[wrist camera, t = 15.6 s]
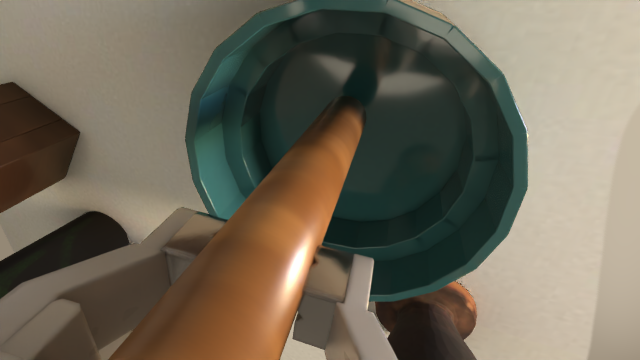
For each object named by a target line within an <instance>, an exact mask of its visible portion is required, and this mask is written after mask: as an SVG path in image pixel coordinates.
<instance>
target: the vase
mask: <svg viewBox="0 0 640 360" xmlns="http://www.w3.org/2000/svg"><path fill="white" fill-rule="evenodd" d="M375 307H376V314H377V317H378V319H379V321H380V322H381V324H382V325H383V326H384V327H385V328H386V329H387V330H388V331H389V332H390V335H389V336H388V338H387V340H388V342H389V344H390V346H391V347H392V349H393V351H394V353H395V355H396V357H397V359H398V360H476V358H475V356H474V355H473V353H472V352H471V350H470V349H469V348H468V346H467V345H466V343H465V342H464V339H465V338H466V337H468V336H469V335H470V334H471V333H472V331H473V329H474V327H475V325H476V318H477V313H476V304H475V302H474V300H473V298H472V296H471V295H470V294H469V292H468V291H467V290H466V289H465V288H464V287H462V286H461V285H460V284H458V283H457V282H455V281H454V282H452V283H450V284H448V285H446V286H444V287H443V288H441V289H439V290H437V291H435V292H431V293H427V294H423V295H419V296H414V297H410V298H406V299H402V300H398V301H392V302H375Z"/></svg>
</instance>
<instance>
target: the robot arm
mask: <svg viewBox="0 0 640 360" xmlns="http://www.w3.org/2000/svg"><path fill="white" fill-rule="evenodd" d="M227 221H228V220H226V219H223V218H220V217H216V216H213V215H210V214H206V213H203V212H198V211H194V210H191V209H188V208H185V207H181V208H178V209H177V210H176V211H174V212H173V213H172V214H171V215H170V216H169V217H168V218H167V219H166V220H165V221H164V222H163V223H162V224H161V225H160V226H159V227H158V228H156V229H155V230H154V231H153V232H152V233H151V234H150V235H149V236H148V237H147V238H146V239H145V240H144V241H143V242H142V243H141V244H136V243H133V244H130V245H127V246H124V247H122V248H119V249H116V250H113V251H110V252H107V253H105V254H102V255H99V256H96V257H93V258H91V259H88V260H85V261H82V262H79V263H76V264H74V265H71V266H68V267H65V268H62V269H59V270H57V271H54V272H51V273H48V274H45V275H43V276H40V277H37V278H34V279H31V280H28V281H26V282H23V283H21V284H20V285H18V286H17V287H16V288H14V289H13V290H12V291H10V292H9V293H8V294H6V295H5V296H4V297H3V298H1V299H0V360H102V359H101V356H100V354H99V350H100V349H102V348H104V347H105V346H107V345H109V344H110V343H112V342H113V341H115V340H117V339H118V338H120V337H121V336H123V335H125V334H126V333H128V332H129V331H131V330H133V329H134V328H136V327H137V325H138V324H139V323H140V322H141V321H142V320H143V318H144V317H145V316H146V315H147V314H148V313H149V311H150V310H151V309H152V308H153V307H154V306H155V304H156V303H157V302H158V301H159V300H160V299H161V298H162V296H163V295H164V294H165V293H166V292H167V291H168V289H169V288H170V287H171V286H172V285H173V284H174V282H175V281H176V280H177V279H178V278H179V277H180V276H181V274H182V273H183V272H184V271H185V270H186V269H187V267H188V266H189V265H190V264H191V263H192V262H193V260H194V259H195V258H196V257H197V256H198V255H199V254H200V252H201V251H202V250H203V249H204V248H205V247H206V245H207V244H208V243H209V242H210V241H211V240H212V238H213V237H214V236H215V235H216V234H217V233H218V231H219V230H220V229H221V228H222V227H223V226H224V225H225V223H226V222H227ZM373 266H374V260H373V258H370V257H366V256H362V255H358V254H353V253H350V252H346V251H342V250H338V249H334V248H330V247H327V246H323V245H318V246H317V248H316V251H315V254H314V264H313V265H312V266H310V268H309V271H308V274H307V277H306V280H305V283H304V286H303V289H302V298H301V302H300V305H299V308H298V310H297V311H298V314H297V317H296V320H295V324H294V332H293V339H294V340H297V341H300V342H303V343H306V344H309V345H312V346H315V347H318V348H320V349H323V350H325V355H326V359H327V360H398V359H397V357H396V355H395V353H394V351H393V349H392V347H391V346H390V344H389V342H388V340H387V338H386V336H385V334H384V332H383V330H382V328H381V326H380V324H379V322H378V320H377V318H376V317H375V315H374V313H373V312H370V311H367V310H368V302H369V295H370V288H371V280H372V273H373Z"/></svg>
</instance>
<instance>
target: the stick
mask: <svg viewBox="0 0 640 360" xmlns="http://www.w3.org/2000/svg"><path fill="white" fill-rule="evenodd" d="M365 123H366V111H365V108H364V106H363V105H362V104H361V102H360V101H358V100H357V99H356V98H353V97H350V96H340V97H337V98H335V99H334V100H332V101H331V102H330V103H329V104H328V105H327V106H326V107H325V109H324V110H323V111H322V112H321V113H320V114H319V116H318V117H317V118H316V119H315V120H314V121H313V123H312V124H311V125H310V126H309V127H308V128H307V130H306V131H305V132H304V133H303V134H302V135H301V136H300V138H299V139H298V140H297V141H296V142H295V143H294V145H293V146H292V147H291V148H290V149H289V150H288V152H287V153H286V154H285V155H284V156H283V157H282V158H281V160H280V161H279V162H278V163H277V164H276V165H275V167H274V168H273V169H272V170H271V171H270V172H269V174H268V175H267V176H266V177H265V178H264V179H263V180H262V182H261V183H260V184H259V185H258V186H257V187H256V189H255V190H254V191H253V192H252V193H251V194H250V196H249V197H248V198H247V199H246V200H245V201H244V203H243V204H242V205H241V206H240V207H239V208H238V209H237V211H236V212H235V213H234V214H233V215H232V216H231V218H230V219H229V220H228V221H227V222H226V223H225V225H224V226H223V227H222V228H221V229H220V230H219V231H218V233H217V234H216V235H215V236H214V237H213V238H212V240H211V241H210V242H209V243H208V244H207V245H206V247H205V248H204V249H203V250H202V251H201V252H200V254H199V255H198V256H197V257H196V258H195V259H194V260H193V262H192V263H191V264H190V265H189V266H188V267H187V269H186V270H185V271H184V272H183V273H182V274H181V276H180V277H179V278H178V279H177V280H176V281H175V282H174V284H173V285H172V286H171V287H170V288H169V289H168V291H167V292H166V293H165V294H164V295H163V296H162V298H161V299H160V300H159V301H158V302H157V303H156V304H155V306H154V307H153V308H152V309H151V310H150V311H149V313H148V314H147V315H146V316H145V317H144V318H143V320H142V321H141V322H140V323H139V324H138V325H137V327H136V328H135V329H134V330H133V331H132V332H131V333H130V335H129V336H128V337H127V338H126V339H125V340H124V342H123V343H122V344H121V345H120V346H119V347H118V349H117V350H116V351H115V352H114V353H113V354H112V355H111V357H110V358H109V359H108V360H280V357H281V354H282V352H283V349H284V346H285V343H286V341H287V338H288V335H289V332H290V330H291V327H292V324H293V321H294V319H295V316H296V313H297V310H298V308H299V305H300V302H301V298H302V289H303V286H304V283H305V280H306V277H307V274H308V271H309V268H310V266H312V265H313V264H314V254H315V251H316V248H317V246H318V245H321V244H322V242H323V239H324V236H325V233H326V231H327V228H328V225H329V222H330V220H331V217H332V214H333V211H334V209H335V206H336V203H337V200H338V198H339V195H340V192H341V189H342V187H343V184H344V181H345V179H346V176H347V173H348V170H349V168H350V165H351V162H352V159H353V157H354V154H355V151H356V148H357V146H358V143H359V140H360V137H361V135H362V132H363V129H364V126H365Z"/></svg>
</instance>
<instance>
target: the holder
mask: <svg viewBox="0 0 640 360" xmlns="http://www.w3.org/2000/svg"><path fill="white" fill-rule="evenodd" d="M79 133H80V132H79V131H77V130H76V129H75V128H73V127H72V126H71V125H69V124H68V123H67V122H65V121H64V120H62V119H61V118H60V117H59V116H57V115H56V114H55V113H53V112H52V111H51V110H49V109H48V108H47V107H45V106H44V105H43V104H41V103H40V102H39V101H37V100H36V99H35V98H33V97H32V96H31V95H29V94H28V93H27V92H25V91H24V90H23V89H21V88H20V87H19V86H17V85H16V84H15V83H13V82H9V83H5V84H1V85H0V213H2V212H4V211H5V210H7V209H9V208H11V207H13V206H14V205H16V204H18V203H20V202H22V201H24V200H25V199H27V198H29V197H31V196H33V195H35V194H36V193H38V192H40V191H42V190H44V189H45V188H47V187H49V186H51V185H53V184H55V183H56V182H58V181H60V180H62V179H64V178H65V176H66V173H67V170H68V167H69V164H70V161H71V158H72V155H73V152H74V149H75V146H76V143H77V140H78V137H79Z"/></svg>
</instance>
